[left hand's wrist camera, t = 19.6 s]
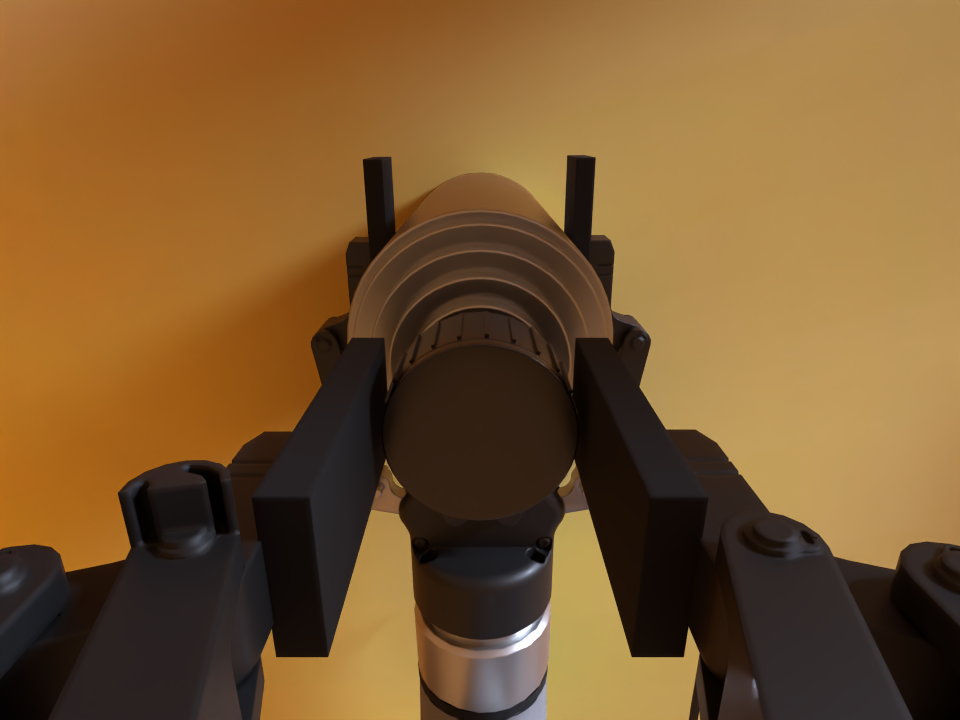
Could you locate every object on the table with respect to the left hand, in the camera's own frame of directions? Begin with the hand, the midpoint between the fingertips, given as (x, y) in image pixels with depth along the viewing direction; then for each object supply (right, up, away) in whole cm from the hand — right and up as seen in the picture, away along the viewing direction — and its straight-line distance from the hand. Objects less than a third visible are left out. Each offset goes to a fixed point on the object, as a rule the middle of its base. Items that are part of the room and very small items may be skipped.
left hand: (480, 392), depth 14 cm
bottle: (0, +7, +18) cm, 20 cm away
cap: (0, -1, -2) cm, 2 cm away
